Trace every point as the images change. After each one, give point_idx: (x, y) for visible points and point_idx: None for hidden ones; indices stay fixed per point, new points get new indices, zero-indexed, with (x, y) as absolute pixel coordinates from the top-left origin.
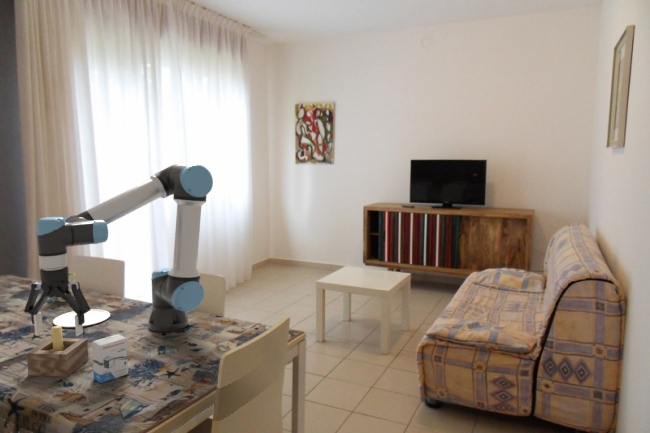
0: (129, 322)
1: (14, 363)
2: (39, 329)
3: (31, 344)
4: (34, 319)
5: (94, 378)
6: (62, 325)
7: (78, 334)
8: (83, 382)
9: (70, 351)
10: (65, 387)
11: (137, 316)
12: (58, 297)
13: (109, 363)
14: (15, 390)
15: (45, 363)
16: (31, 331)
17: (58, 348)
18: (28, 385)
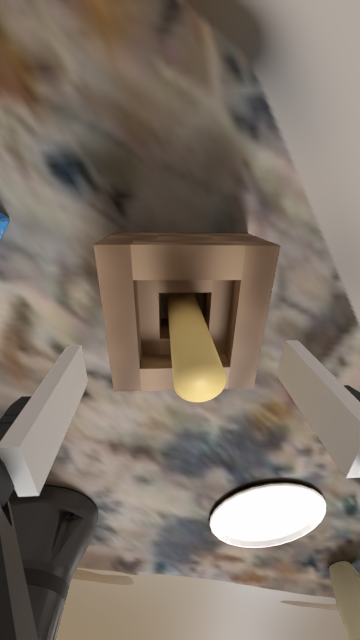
0: (152, 513)
1: (325, 307)
2: (293, 370)
3: None
4: (356, 403)
5: (1, 213)
6: (293, 487)
7: (66, 351)
8: (27, 189)
9: (98, 279)
10: (63, 143)
11: (152, 534)
12: (355, 573)
13: None
14: (232, 106)
15: (191, 238)
16: None
17: (177, 313)
18: (207, 153)
